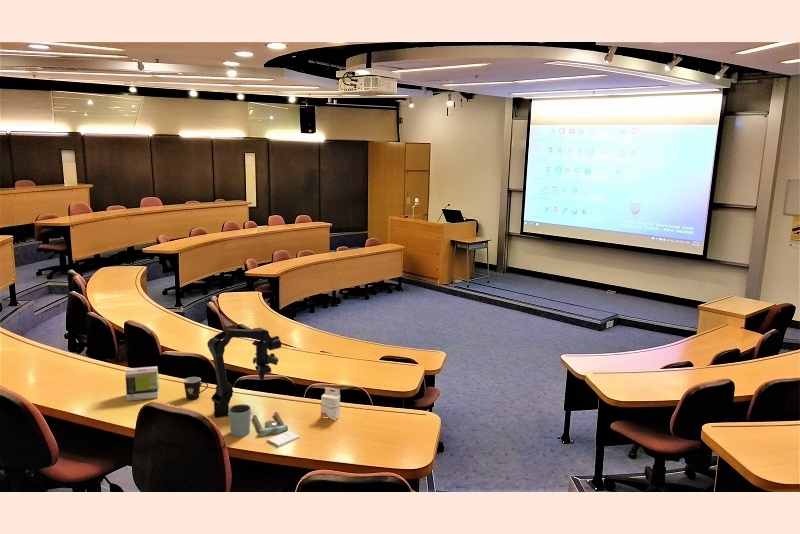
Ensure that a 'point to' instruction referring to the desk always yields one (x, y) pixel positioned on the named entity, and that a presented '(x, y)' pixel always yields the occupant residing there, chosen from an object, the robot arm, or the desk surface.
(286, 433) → the external hard drive
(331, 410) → the ink cartridge box
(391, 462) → the desk surface
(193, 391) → the coffee mug
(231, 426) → the pale green cup
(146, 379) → the tea box
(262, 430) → the channel
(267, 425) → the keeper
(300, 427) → the desk surface
